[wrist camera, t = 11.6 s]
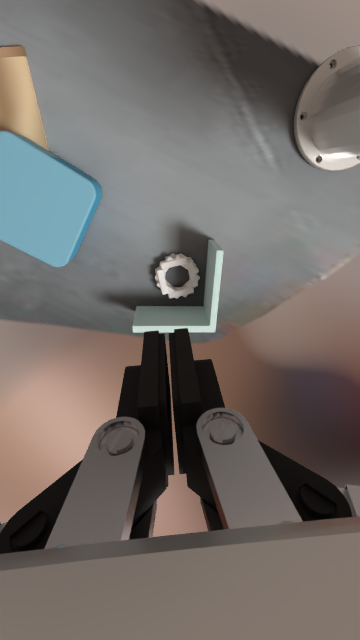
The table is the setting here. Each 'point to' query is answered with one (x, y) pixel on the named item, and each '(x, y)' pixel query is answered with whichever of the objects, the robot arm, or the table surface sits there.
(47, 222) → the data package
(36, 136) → the wooden board
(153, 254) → the table surface
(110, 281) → the table surface
